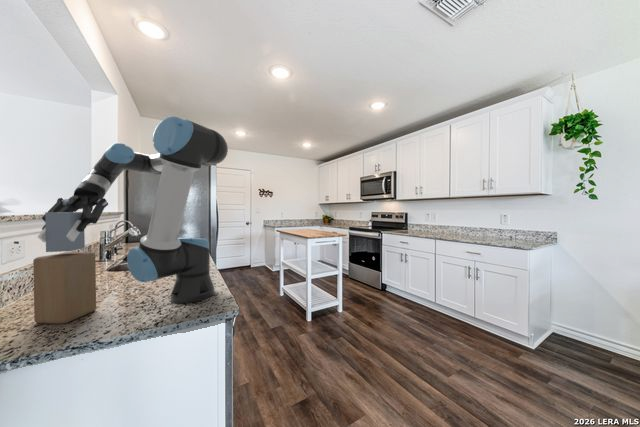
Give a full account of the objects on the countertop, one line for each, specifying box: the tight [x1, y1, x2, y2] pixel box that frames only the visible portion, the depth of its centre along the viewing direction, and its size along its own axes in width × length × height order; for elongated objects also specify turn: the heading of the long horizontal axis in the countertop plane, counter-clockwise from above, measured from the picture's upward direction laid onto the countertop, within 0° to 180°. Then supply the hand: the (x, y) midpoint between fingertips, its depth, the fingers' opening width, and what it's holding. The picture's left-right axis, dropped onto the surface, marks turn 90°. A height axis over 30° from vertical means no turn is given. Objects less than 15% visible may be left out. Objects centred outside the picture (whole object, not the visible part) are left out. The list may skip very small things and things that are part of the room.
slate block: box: [44, 211, 86, 253], centre depth 74 cm, size 6×6×12 cm
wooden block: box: [32, 251, 97, 324], centre depth 74 cm, size 10×10×20 cm
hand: (56, 239), depth 70 cm, fingers closed on slate block, 6 cm apart
